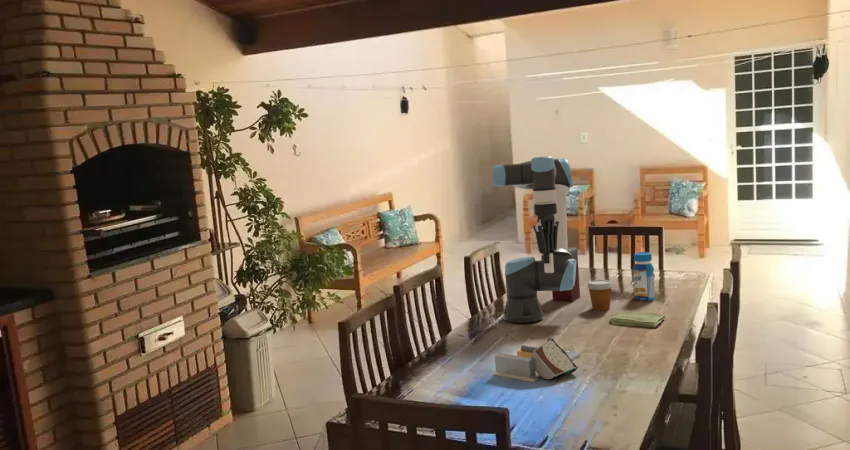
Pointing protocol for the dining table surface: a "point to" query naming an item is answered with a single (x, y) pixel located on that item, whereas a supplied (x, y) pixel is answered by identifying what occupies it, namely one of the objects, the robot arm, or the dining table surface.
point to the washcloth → (637, 319)
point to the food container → (552, 360)
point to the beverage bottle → (643, 277)
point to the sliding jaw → (526, 351)
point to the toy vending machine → (575, 291)
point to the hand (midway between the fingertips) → (549, 272)
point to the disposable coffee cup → (600, 294)
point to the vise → (521, 366)
